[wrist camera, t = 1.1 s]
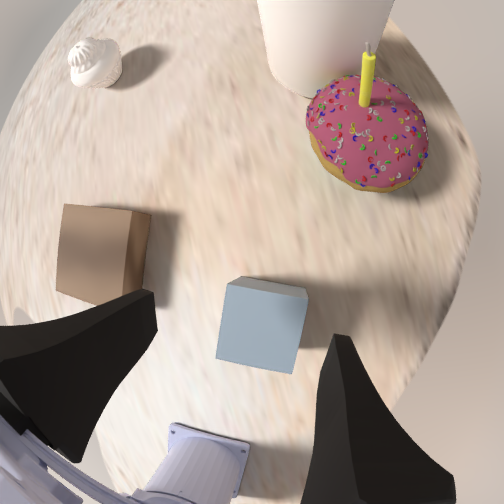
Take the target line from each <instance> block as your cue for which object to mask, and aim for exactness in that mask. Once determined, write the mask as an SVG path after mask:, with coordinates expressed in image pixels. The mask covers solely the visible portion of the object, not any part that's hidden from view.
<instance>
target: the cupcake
mask: <svg viewBox="0 0 504 504" xmlns="http://www.w3.org/2000/svg"><path fill="white" fill-rule="evenodd" d="M365 44H366V52H364V53H363V56H362V71H361V75H351V76H350V75H346V76H343V77H340V78H339V79H336V80H335V79H333V80H331V81H329V84H327V85H326V86H325V87H323V88H322V89H321V90H320V89H319V90H317V93H316V94H315V97H314V98H313V100H312V101H311V103H310V104H309V106H307V113H306V126H307V129H308V130H309V134H310V140H311V145H312V148H313V150H314V152H315V153H316V155H317V156H318V158H319V160H320V162H321V164H322V165H323V167H324V168H325V169H326V170H327V171H328V172H329V173H331V174H332V175H334V176H335V177H337V178H338V179H340V180H341V181H343V182H345V183H347V184H348V185H350V186H351V187H353V188H354V189H356V190H360V191H370V192H380V193H387V192H391V191H394V190H396V189H398V188H400V187H402V186H405V185H407V184H408V183H410V182H411V181H412V180H413V179H414V178H415V176H416V175H417V174H418V173H419V171H420V170H421V168H422V166H423V164H424V161H425V158H426V157H427V156H428V154H427V149H428V132H427V128H426V124H425V119H424V116H423V114H422V112H421V110H419V109H418V107H417V104H416V105H415V103H414V102H413V100H412V99H411V98H410V96H409V95H407V94H405V93H403V92H402V91H401V90H400V89H398V86H397V85H393V84H391V83H389V82H387V81H386V80H385V79H384V78H382V79H380V78H379V77H378V78H377V77H374V70H375V62H376V55H375V54H374V53H372V52H371V51H370V49H371V46H370V44H369V42H365ZM318 91H319V92H318Z"/></svg>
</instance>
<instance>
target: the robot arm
mask: <svg viewBox="0 0 504 504" xmlns="http://www.w3.org/2000/svg"><path fill="white" fill-rule="evenodd" d="M157 331H158V329H157V320H156V312H155V302H154V292H151V291H147V290H144V289H139V290H136V291H133V292H131V293H128V294H125V295H123V296H120V297H118V298H116V299H113V300H111V301H108V302H106V303H103V304H101V305H98V306H96V307H93V308H90V309H88V310H85V311H82V312H79V313H77V314H74V315H70V316H67V317H63V318H60V319H56V320H51V321H46V322H41V323H35V324H29V325H17V326H0V504H82V503H83V499H82V498H80V497H79V496H77V495H76V494H75V493H73V492H72V491H71V490H69V489H68V488H67V487H65V486H64V485H63V484H62V483H60V482H59V481H58V480H56V479H55V478H54V477H53V476H52V475H50V474H49V473H48V471H47V469H48V468H47V466H48V467H50V468H51V469H52V470H54V471H55V472H56V473H57V474H59V475H60V476H61V477H62V478H64V479H65V480H67V481H68V482H69V483H71V484H72V485H73V486H75V487H76V488H78V489H79V490H81V491H82V492H84V493H85V494H87V495H88V496H90V497H91V498H93V499H95V500H96V501H98V502H99V503H102V504H230V502H231V498H236V497H237V494H238V490H239V487H240V483H241V479H242V476H243V472H244V468H245V465H246V461H247V457H248V453H249V449H250V445H249V444H248V443H245V442H240V441H236V440H232V439H227V438H223V437H219V436H215V435H212V434H208V433H204V432H201V431H198V430H194V429H191V428H188V427H184V426H181V425H178V424H175V423H171V424H170V425H169V433H168V454H167V455H166V457H165V458H164V460H163V461H162V463H161V464H160V466H159V467H158V469H157V470H156V472H155V473H154V475H153V476H152V478H151V479H150V480H149V482H148V483H147V485H146V486H145V488H144V489H143V490H141V489H139V488H137V489H136V491H135V492H134V493H133V495H132V496H130V495H128V494H126V493H120V494H118V493H116V492H114V491H113V490H111V489H109V488H107V487H106V486H104V485H102V484H101V483H99V482H97V481H96V480H94V479H92V478H90V477H89V476H88V475H86V474H84V473H83V472H82V471H80V470H79V469H77V468H76V467H74V466H73V465H71V464H70V463H69V462H67V461H66V460H65V459H63V458H62V457H60V456H59V455H58V454H57V453H55V452H54V451H53V450H56V451H57V452H58V453H60V454H61V455H62V456H64V457H65V458H67V459H68V460H69V461H71V462H72V463H80V462H81V461H82V458H83V455H84V452H85V449H86V447H87V444H88V441H89V439H90V437H91V434H92V432H93V430H94V428H95V426H96V424H97V422H98V420H99V418H100V416H101V414H102V412H103V410H104V408H105V407H106V405H107V403H108V401H109V400H110V398H111V396H112V395H113V393H114V391H115V390H116V389H117V387H118V386H119V384H120V383H121V382H122V381H123V379H124V378H125V377H126V376H127V374H128V373H129V372H130V370H131V369H132V368H133V367H134V365H135V364H136V363H137V362H138V360H139V359H140V358H141V357H142V355H143V354H144V353H145V351H146V350H147V349H148V347H149V345H150V344H151V342H152V340H153V339H154V337H155V335H156V333H157ZM172 430H173V431H175V432H173V431H172ZM48 446H49V447H51V448H52V449H53V450H51V449H50V448H49V447H48ZM242 450H245V451H242ZM455 503H456V490H455V482H454V477H453V475H452V474H450V473H449V472H448V471H446V470H445V469H444V468H443V467H441V466H440V465H439V464H437V463H436V462H435V461H434V460H433V459H431V458H430V457H429V456H428V455H427V454H426V453H425V452H424V451H423V450H422V449H421V448H420V447H419V446H418V445H417V444H416V443H415V442H414V441H413V440H412V438H411V437H410V436H409V435H408V434H407V433H406V432H405V431H404V429H403V428H402V427H401V426H400V424H399V423H398V422H397V421H396V419H395V418H394V417H393V415H392V414H391V412H390V411H389V409H388V408H387V407H386V405H385V403H384V402H383V400H382V399H381V397H380V395H379V394H378V392H377V390H376V388H375V387H374V385H373V383H372V381H371V379H370V377H369V375H368V373H367V372H366V370H365V368H364V366H363V363H362V361H361V359H360V357H359V355H358V353H357V351H356V348H355V346H354V344H353V341H352V339H351V338H350V336H345V335H339V334H334V335H333V338H332V341H331V343H330V346H329V349H328V352H327V355H326V358H325V360H324V363H323V366H322V369H321V371H320V377H319V384H318V390H317V400H316V419H315V435H314V446H313V454H312V459H311V463H310V468H309V473H308V477H307V481H306V485H305V489H304V493H303V496H302V500H301V503H300V504H455Z"/></svg>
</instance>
